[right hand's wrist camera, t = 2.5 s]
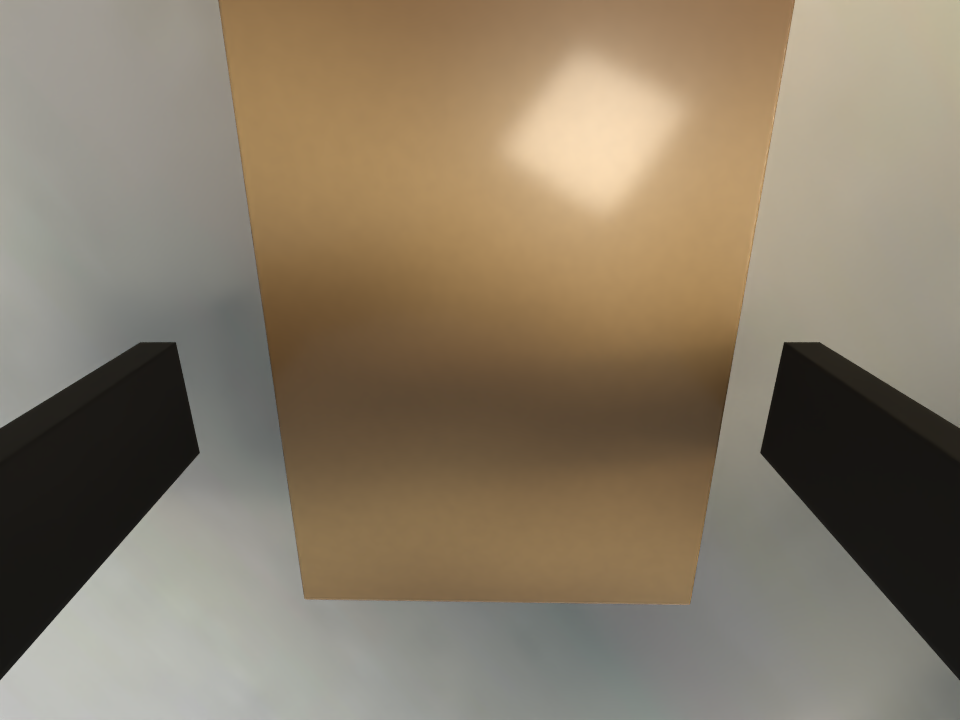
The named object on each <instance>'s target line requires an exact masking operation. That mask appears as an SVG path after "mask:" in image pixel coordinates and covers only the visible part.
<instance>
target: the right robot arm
mask: <svg viewBox="0 0 960 720" xmlns="http://www.w3.org/2000/svg"><path fill="white" fill-rule="evenodd" d="M199 453H200V452H199V447H198V443H197V438H196V434H195V429H194V424H193V420H192V415H191V410H190V406H189V401H188V396H187V392H186V387H185V382H184V378H183V373H182V369H181V364H180V359H179V355H178V350H177V345H176V342H140V343H139V344H137V345H135V346H134V347H132V348H130V349H129V350H127V351H126V352H124V353H122V354H121V355H119V356H117V357H116V358H114V359H112V360H111V361H109V362H108V363H106V364H104V365H103V366H101V367H99V368H98V369H96V370H95V371H93V372H91V373H90V374H88V375H86V376H85V377H83V378H82V379H80V380H78V381H77V382H75V383H73V384H72V385H70V386H69V387H67V388H65V389H64V390H62V391H60V392H59V393H57V394H56V395H54V396H52V397H51V398H49V399H47V400H46V401H44V402H43V403H41V404H39V405H38V406H36V407H34V408H33V409H31V410H29V411H28V412H26V413H25V414H23V415H21V416H20V417H18V418H16V419H15V420H13V421H12V422H10V423H8V424H7V425H5V426H3V427H2V428H0V680H1V679H2V678H3V676H4V675H5V674H6V673H7V672H8V671H9V670H10V668H11V667H12V666H13V665H14V664H15V663H16V662H17V661H18V659H19V658H20V657H21V656H22V655H23V654H24V653H25V651H26V650H27V649H28V648H29V647H30V646H31V645H32V643H33V642H34V641H35V640H36V639H37V638H38V637H39V635H40V634H41V633H42V632H43V631H44V630H45V629H46V627H47V626H48V625H49V624H50V623H51V622H52V621H53V620H54V618H55V617H56V616H57V615H58V614H59V613H60V612H61V610H62V609H63V608H64V607H65V606H66V605H67V604H68V602H69V601H70V600H71V599H72V598H73V597H74V596H75V594H76V593H77V592H78V591H79V590H80V589H81V588H82V586H83V585H84V584H85V583H86V582H87V581H88V580H89V579H90V577H91V576H92V575H93V574H94V573H95V572H96V571H97V569H98V568H99V567H100V566H101V565H102V564H103V563H104V561H105V560H106V559H107V558H108V557H109V556H110V555H111V553H112V552H113V551H114V550H115V549H116V548H117V547H118V545H119V544H120V543H121V542H122V541H123V540H124V539H125V537H126V536H127V535H128V534H129V533H130V532H131V531H132V530H133V528H134V527H135V526H136V525H137V524H138V523H139V522H140V520H141V519H142V518H143V517H144V516H145V515H146V514H147V512H148V511H149V510H150V509H151V508H152V507H153V506H154V504H155V503H156V502H157V501H158V500H159V499H160V498H161V496H162V495H163V494H164V493H165V492H166V491H167V490H168V489H169V487H170V486H171V485H172V484H173V483H174V482H175V481H176V479H177V478H178V477H179V476H180V475H181V474H182V473H183V471H184V470H185V469H186V468H187V467H188V466H189V465H190V463H191V462H192V461H193V460H194V459H195V458H196V457H197V455H198V454H199ZM760 453H761V454H762V455H763V457H764V458H765V459H766V460H767V461H768V462H769V463H770V465H771V466H772V467H773V468H774V469H775V470H776V471H777V473H778V474H779V475H780V476H781V477H782V478H783V479H784V481H785V482H786V483H787V484H788V485H789V486H790V487H791V489H792V490H793V491H794V492H795V493H796V494H797V495H798V496H799V498H800V499H801V500H802V501H803V502H804V503H805V504H806V506H807V507H808V508H809V509H810V510H811V511H812V512H813V514H814V515H815V516H816V517H817V518H818V519H819V520H820V522H821V523H822V524H823V525H824V526H825V527H826V528H827V530H828V531H829V532H830V533H831V534H832V535H833V536H834V537H835V539H836V540H837V541H838V542H839V543H840V544H841V545H842V547H843V548H844V549H845V550H846V551H847V552H848V553H849V555H850V556H851V557H852V558H853V559H854V560H855V561H856V563H857V564H858V565H859V566H860V567H861V568H862V569H863V571H864V572H865V573H866V574H867V575H868V576H869V577H870V579H871V580H872V581H873V582H874V583H875V584H876V585H877V586H878V588H879V589H880V590H881V591H882V592H883V593H884V594H885V596H886V597H887V598H888V599H889V600H890V601H891V602H892V604H893V605H894V606H895V607H896V608H897V609H898V610H899V612H900V613H901V614H902V615H903V616H904V617H905V618H906V620H907V621H908V622H909V623H910V624H911V625H912V626H913V627H914V629H915V630H916V631H917V632H918V633H919V634H920V635H921V637H922V638H923V639H924V640H925V641H926V642H927V643H928V645H929V646H930V647H931V648H932V649H933V650H934V651H935V653H936V654H937V655H938V656H939V657H940V658H941V659H942V661H943V662H944V663H945V664H946V665H947V666H948V667H949V668H950V670H951V671H952V672H953V673H954V674H955V675H956V676H957V678H958V679H959V680H960V428H958V427H957V426H955V425H953V424H952V423H950V422H948V421H947V420H945V419H944V418H942V417H940V416H939V415H937V414H935V413H934V412H932V411H931V410H929V409H927V408H926V407H924V406H922V405H921V404H919V403H917V402H916V401H914V400H913V399H911V398H909V397H908V396H906V395H904V394H903V393H901V392H900V391H898V390H896V389H895V388H893V387H891V386H890V385H888V384H887V383H885V382H883V381H882V380H880V379H878V378H877V377H875V376H874V375H872V374H870V373H869V372H867V371H865V370H864V369H862V368H861V367H859V366H857V365H856V364H854V363H852V362H851V361H849V360H848V359H846V358H844V357H843V356H841V355H839V354H838V353H836V352H834V351H833V350H831V349H830V348H828V347H826V346H825V345H823V344H821V343H820V342H784V345H783V350H782V355H781V359H780V364H779V369H778V373H777V378H776V382H775V387H774V392H773V396H772V401H771V406H770V410H769V415H768V420H767V424H766V429H765V434H764V438H763V443H762V447H761V452H760Z"/></svg>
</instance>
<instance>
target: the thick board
mask: <svg viewBox="0 0 960 720" xmlns="http://www.w3.org/2000/svg"><path fill="white" fill-rule="evenodd" d="M218 1H219V8H220V15H221V22H222V29H223V36H224V43H225V50H226V57H227V64H228V71H229V78H230V85H231V92H232V99H233V106H234V113H235V120H236V127H237V133H238V140H239V147H240V154H241V161H242V168H243V175H244V182H245V189H246V196H247V203H248V210H249V217H250V224H251V231H252V238H253V245H254V252H255V259H256V266H257V273H258V279H259V286H260V293H261V300H262V307H263V314H264V321H265V328H266V335H267V342H268V349H269V356H270V363H271V370H272V377H273V384H274V391H275V398H276V405H277V412H278V419H279V425H280V432H281V439H282V446H283V453H284V460H285V467H286V474H287V481H288V488H289V495H290V502H291V509H292V516H293V523H294V530H295V537H296V544H297V551H298V558H299V565H300V572H301V578H302V585H303V592H304V598H305V599H306V600H377V601H447V602H518V603H589V604H660V605H689V604H690V602H691V596H692V590H693V585H694V579H695V573H696V567H697V562H698V556H699V550H700V544H701V539H702V533H703V527H704V521H705V516H706V510H707V504H708V498H709V492H710V487H711V481H712V475H713V469H714V464H715V458H716V452H717V446H718V441H719V435H720V429H721V423H722V418H723V412H724V406H725V400H726V394H727V389H728V383H729V377H730V371H731V366H732V360H733V354H734V348H735V343H736V337H737V331H738V325H739V320H740V314H741V308H742V302H743V296H744V291H745V285H746V279H747V273H748V268H749V262H750V256H751V250H752V245H753V239H754V233H755V227H756V222H757V216H758V210H759V204H760V198H761V193H762V187H763V181H764V175H765V170H766V164H767V158H768V152H769V147H770V141H771V135H772V129H773V124H774V118H775V112H776V106H777V101H778V95H779V89H780V83H781V77H782V72H783V66H784V60H785V54H786V49H787V43H788V37H789V31H790V26H791V20H792V14H793V8H794V3H795V0H218Z"/></svg>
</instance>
